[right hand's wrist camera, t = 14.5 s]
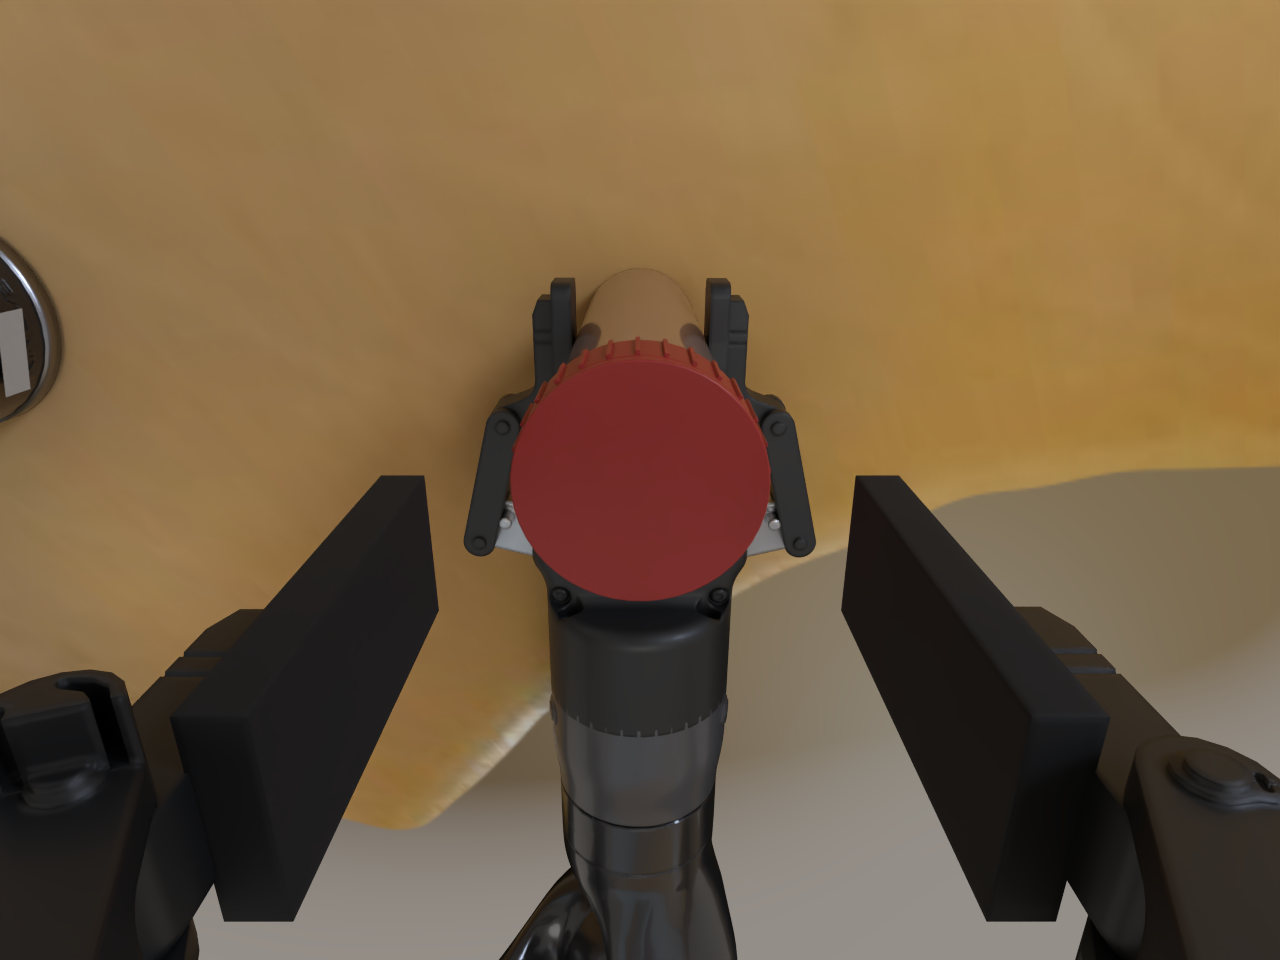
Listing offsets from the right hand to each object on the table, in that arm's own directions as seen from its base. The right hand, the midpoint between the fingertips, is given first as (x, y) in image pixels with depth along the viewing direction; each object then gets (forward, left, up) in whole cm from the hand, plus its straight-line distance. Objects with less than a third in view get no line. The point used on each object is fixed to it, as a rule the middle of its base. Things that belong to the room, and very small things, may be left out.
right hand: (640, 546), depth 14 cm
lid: (0, 0, -3) cm, 3 cm away
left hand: (-2, +2, -15) cm, 16 cm away
